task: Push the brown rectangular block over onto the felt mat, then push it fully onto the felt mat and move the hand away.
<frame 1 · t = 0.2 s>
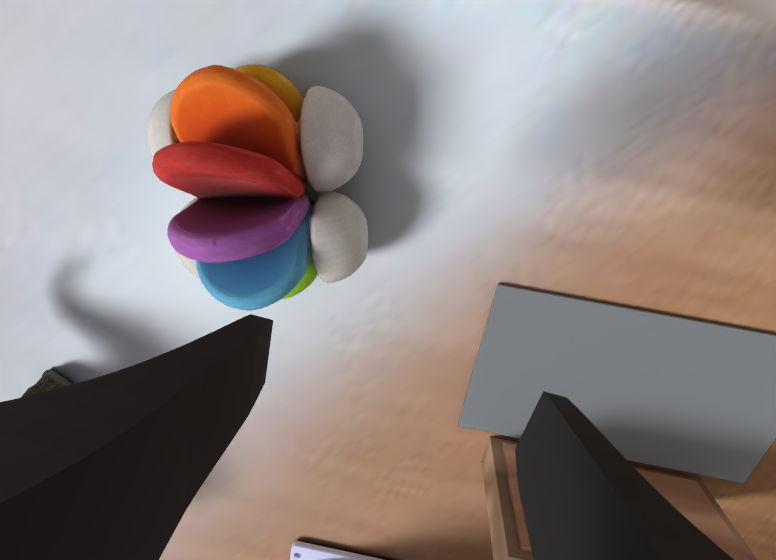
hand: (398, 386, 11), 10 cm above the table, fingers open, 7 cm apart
multicoloured rounded cluster: (283, 182, 20), on the table
brown rectangular block: (587, 468, 24), on the table
felt mat: (627, 388, 21), on the table
dinosaur figurine: (85, 429, 28), on the table
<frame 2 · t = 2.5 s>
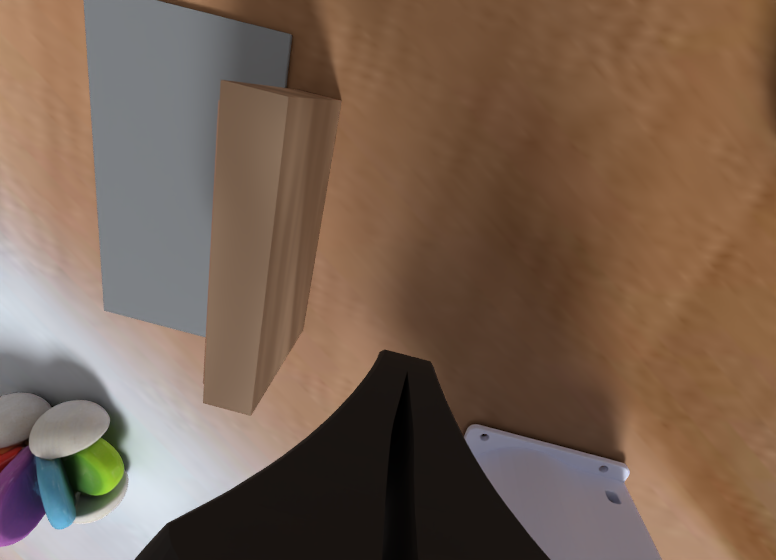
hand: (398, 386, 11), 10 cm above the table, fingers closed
multicoloured rounded cluster: (80, 433, 29), on the table
brown rectangular block: (301, 223, 20), on the table
felt mat: (184, 194, 20), on the table
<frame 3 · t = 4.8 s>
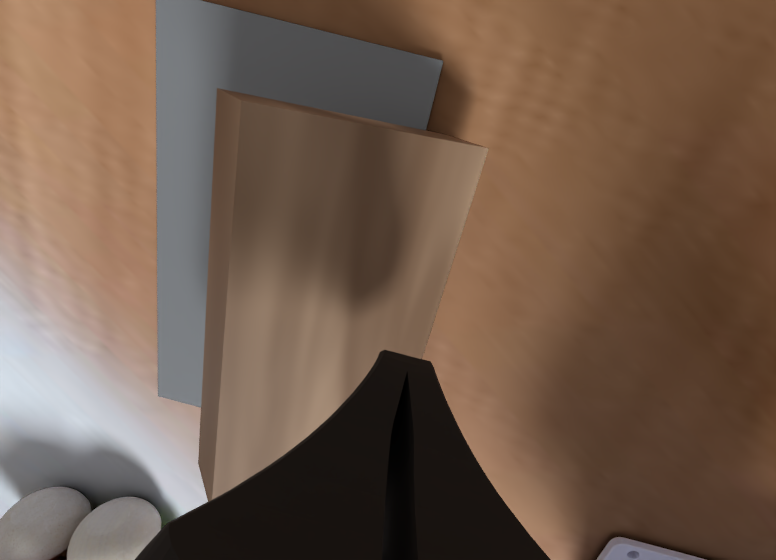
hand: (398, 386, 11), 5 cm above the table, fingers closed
multicoloured rounded cluster: (121, 526, 24), on the table
brown rectangular block: (416, 308, 15), point 1 cm above the table, tilted 50°
felt mat: (272, 262, 16), on the table
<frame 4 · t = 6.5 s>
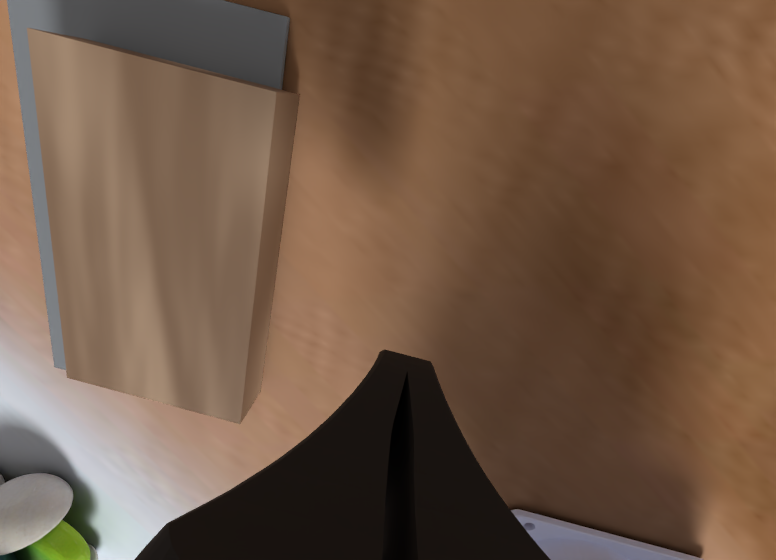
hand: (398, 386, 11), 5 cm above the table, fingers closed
multicoloured rounded cluster: (41, 505, 24), on the table
brown rectangular block: (266, 276, 14), point 1 cm above the table, tilted 90°, touching felt mat
felt mat: (149, 227, 16), on the table
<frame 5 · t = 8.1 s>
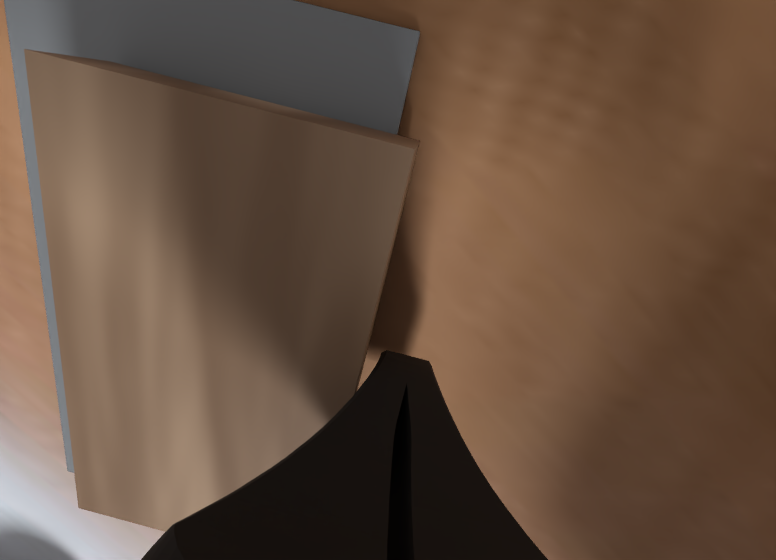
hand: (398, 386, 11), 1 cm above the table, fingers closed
brown rectangular block: (357, 387, 10), point 1 cm above the table, tilted 90°, touching felt mat, gripper
felt mat: (197, 311, 12), on the table
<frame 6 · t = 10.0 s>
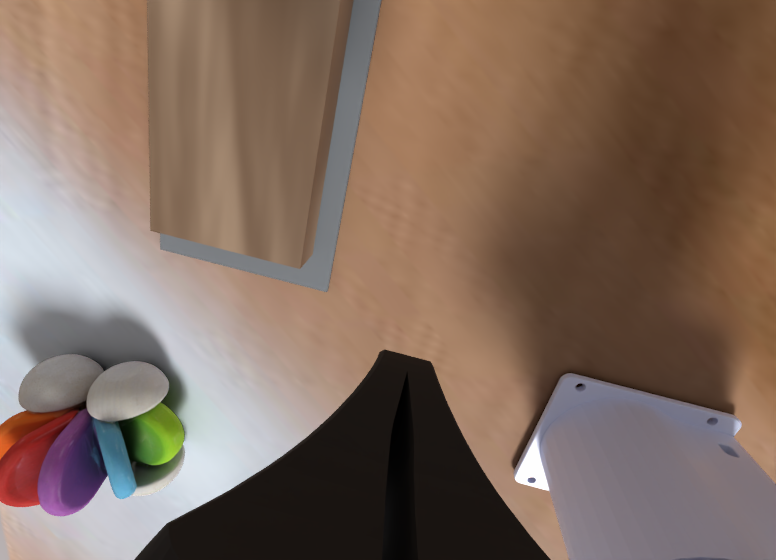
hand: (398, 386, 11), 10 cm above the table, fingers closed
multicoloured rounded cluster: (132, 401, 27), on the table
brown rectangular block: (327, 129, 17), point 1 cm above the table, tilted 90°, touching felt mat
felt mat: (259, 108, 18), on the table
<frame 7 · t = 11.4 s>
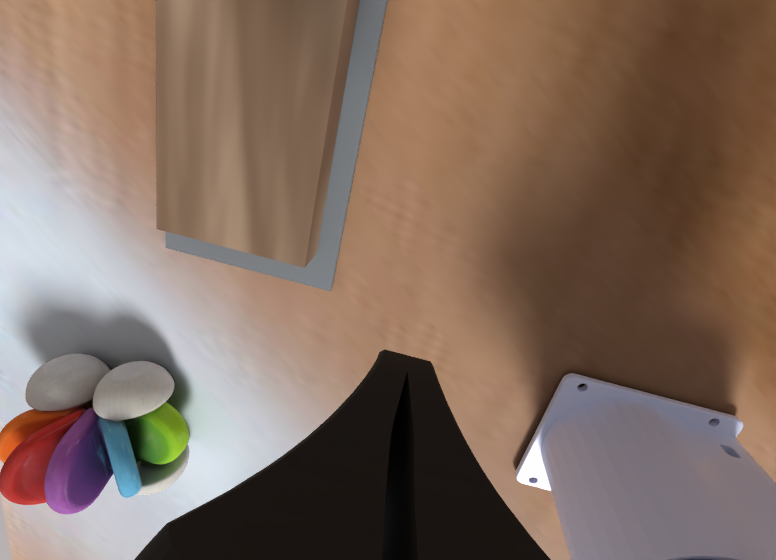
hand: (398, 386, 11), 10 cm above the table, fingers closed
multicoloured rounded cluster: (137, 400, 27), on the table
brown rectangular block: (332, 129, 17), point 1 cm above the table, tilted 90°, touching felt mat
felt mat: (265, 108, 18), on the table
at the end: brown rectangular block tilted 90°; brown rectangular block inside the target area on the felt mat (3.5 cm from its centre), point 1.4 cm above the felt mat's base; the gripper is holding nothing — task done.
